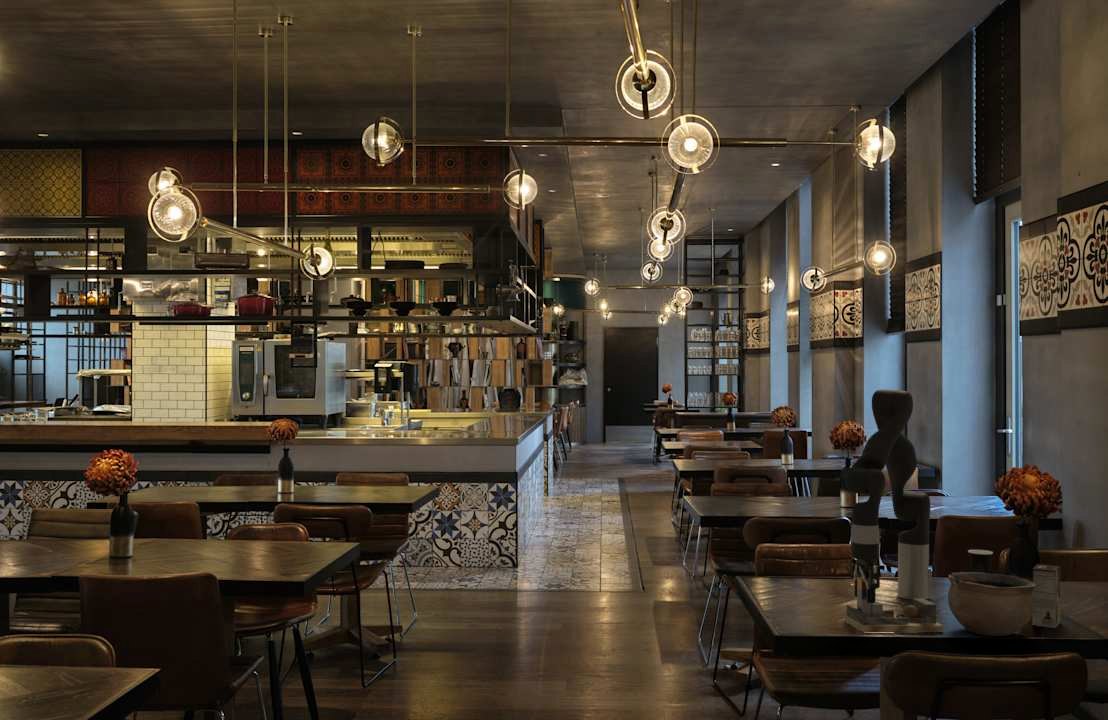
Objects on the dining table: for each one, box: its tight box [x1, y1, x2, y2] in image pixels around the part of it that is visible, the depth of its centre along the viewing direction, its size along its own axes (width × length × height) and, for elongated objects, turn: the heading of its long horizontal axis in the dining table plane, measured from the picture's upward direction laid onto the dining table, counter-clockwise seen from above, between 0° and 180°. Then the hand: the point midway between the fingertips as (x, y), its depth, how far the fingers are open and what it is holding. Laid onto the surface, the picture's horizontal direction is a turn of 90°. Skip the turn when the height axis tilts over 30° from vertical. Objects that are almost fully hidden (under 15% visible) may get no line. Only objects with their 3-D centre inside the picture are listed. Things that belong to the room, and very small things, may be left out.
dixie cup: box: [967, 549, 994, 574], centre depth 352 cm, size 8×8×11 cm
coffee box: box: [1031, 563, 1061, 629], centre depth 292 cm, size 9×6×16 cm
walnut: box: [902, 604, 918, 618], centre depth 286 cm, size 4×4×4 cm
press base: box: [844, 598, 944, 634], centre depth 286 cm, size 22×14×7 cm, turn 96°
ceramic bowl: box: [947, 571, 1036, 637], centre depth 280 cm, size 22×22×15 cm
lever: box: [856, 577, 884, 618], centre depth 285 cm, size 6×7×11 cm
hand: (864, 599), depth 285 cm, fingers open, 8 cm apart
